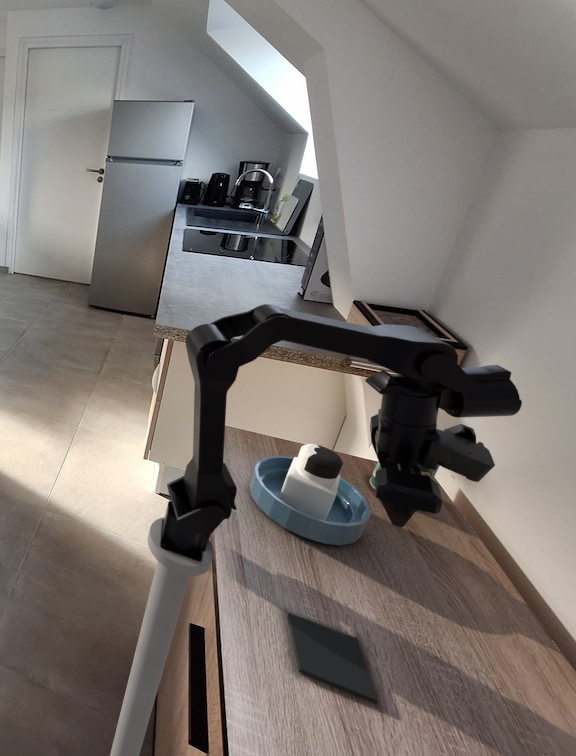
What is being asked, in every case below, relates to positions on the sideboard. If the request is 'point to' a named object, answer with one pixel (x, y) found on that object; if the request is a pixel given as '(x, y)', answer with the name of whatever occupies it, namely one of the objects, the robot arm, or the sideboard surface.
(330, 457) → the medicine bottle
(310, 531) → the blue saucer dish
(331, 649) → the coaster
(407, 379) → the robot arm
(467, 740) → the sideboard surface
